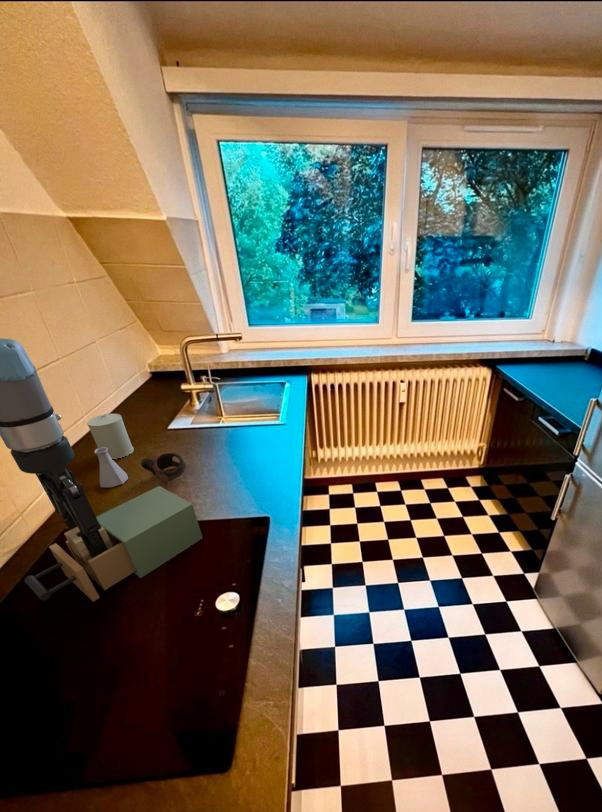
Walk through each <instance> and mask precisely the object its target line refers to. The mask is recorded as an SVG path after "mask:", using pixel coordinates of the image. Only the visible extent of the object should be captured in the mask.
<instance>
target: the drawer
mask: <svg viewBox="0 0 602 812" xmlns="http://www.w3.org/2000/svg"><path fill="white" fill-rule="evenodd" d="M105 531H106V530H105ZM106 533H107V535H108V537H109V539H110V541H111V543H112V545H113V547H112V548H110V549H108V550H107V551H105V552H103V553H101V554H99V555H98V556H96V557H94V558H92V559H90V560H89V561H88V562H89V563H86V562H84V561H83V560H82V559H81V558H80V557H79V556H78V555H77V554H75V552H74V551H73V549H72V547H71V545H70V543H69V542H68V540H67V539H66V540H65V544H66V545H67V547H68V549H69V551H70V553H71V554H72V556H73V557H71V555H70V554H69V553H67V552H66V551H65V550H64V549H63V548H62V547H61V546H60V545H59V544H57V543H56V542H55V543H53V544H51V545H48V548H49V550H50V552H51V553H52V555H53V557H54V558H55V560H56V562H57V563H56V564H54V565H52V566H50V567H48V568H46V569H45V570H42V571H40V572H39V573H37V574H35V575H33V574H32V575H31V574H30V575H28V576H26V577H25V578H24V582H25V584H26V585H27V586H28V587H29V588H30V589H31V591H32V592H33V593H34V594H35V595H36V596H37V597H38V598H39V599H40V600H41V601H47V600H49V599H50V598H51V596H52V594H54V593H56V592H57V591H60V590H61V589H62V588H65V587H66V586H68V585H69V584H71V583H73V584H74V585H75V586H76V587H77V588H78V589H79V590H80V591H81V592H82V593H83V594H84V595H85V596H86V597H87V598H88V599H89V600H91V601H92V602H95V601H97V600H99V599H100V595H99V593H98V591H97V590H96V588H95V587H94V584H93V583H92V581H94V583H96V584H97V585H98V586H99V587H100V588H101V589H103V591H106V590H108V589H109V588H112V587H113V586H114V585H116V584H117V583H119V582H120V581H122V580H124V579H126V578H127V577H128V576H130V575H132V574H134V573H133V572H135V571H136V570H135V568H134V566H133V563H132V561H131V559H130V557H129V555H128V553H127V550H126V548H125V546H124V544H123V543H122V542H120V541H119V540H118V539H116V538H115V537H114V536H112V535H111V534H110V533H108V532H107V531H106ZM59 568H61V570H62V571H63V573H64V576H66V577H67V579H65V580H64V581H62V582H61V583H59V584H57V585H55V586H54V587H52V588H50V589H47V588H46V586H44V585H43V584H42V583H41V581H39V579H40V578H42V577H44V576H46V575H48V574H50V573H51V572H54V571H55V570H57V569H59ZM91 580H92V581H91Z"/></svg>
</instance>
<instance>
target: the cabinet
mask: <svg viewBox="0 0 602 812" xmlns="http://www.w3.org/2000/svg"><path fill="white" fill-rule="evenodd" d="M96 518H97V520H98V522H99V524H100V525H101V526H102V527H103V528H104V529H105V530H106V531H107V532H108V533H110V534H111V535H112V536H114V537H115V538H116V539H118V540H119V541H120V542H122V543H123V544H124V546H125V548H126V550H127V553H128V555H129V557H130V559H131V561H132V563H133V566H134V568H135V570H136V571H135V572H133V573H132V574H135V575H136V577H139V578H140V579H142V578H144V577H145V576H147V575H148V574H150V573H151V572H153V571H154V570H156V569H157V568H159V567H160V566H162V565H164V564H165V563H166V562H168V561H170V560H172V559H173V558H174V557H176V556H178V555H179V554H181V553H183V551H185V550H187V549H189V548H190V547H191V545H192V546H193V545H195V544H196V543H198V542H199V541H201V540H202V539H204V538H203V534H202V532H201V527H200V525H199V521H198V519H197V514H196V511H195V508H194V506H193V503H191V502H189V501H187V500H185V499H184V498H182V497H180V496H178V495H176V493H173V492H172V491H169V490H167V489H166V488H164V487H162V486H160V485H158V486H156V487H154V488H152V489H150V490H147V491H145V492H144V493H142V494H139V495H138V496H136V497H133V498H132V499H130V500H128V501H125V502H124V503H121V504H120V505H117V506H115V507H113V508H111V509H109V510H107V511H105V512H103V513H101V514H98V515H96ZM200 539H201V540H200ZM177 554H178V555H177Z"/></svg>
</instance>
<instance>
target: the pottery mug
mask: <svg viewBox="0 0 602 812" xmlns="http://www.w3.org/2000/svg"><path fill="white" fill-rule="evenodd" d="M173 457H176V458H177V459H178V460H179V461H177V460H174V459H173ZM140 466H141V467H142V468H143V469H145V470H146V471H149V472H150V473H152V475H153V476H156V475H157V476H158V477H160V483H161V484H163V485H168V484H169V482H172V481H174V480H176V479H178V478H179V477H181V476H182V475H183V474H184V472H185V470H186V468H187V467H188V464H187V463H186V462H185V461H184V457H182V456H181V454H179V453H177V452H175V451H164V452H161V453H159V454H157V456H155V458H153V457H145V458H142V459H141V461H140ZM173 467H174V468H175V469H172V470H168V471H167V470H166V469H168V468H173ZM164 470H166V471H165V473H164V472H163V471H164Z"/></svg>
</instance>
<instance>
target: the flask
mask: <svg viewBox="0 0 602 812" xmlns="http://www.w3.org/2000/svg"><path fill="white" fill-rule="evenodd" d="M94 454H95V455H96V456H97V458H98V463H99V486H100V488H114V487H117V486H120V485H123V484H125V482H127V480H129V477H128V474H127V473H126V472H125V471H124V469H123V468H121V467H120V466H119V465H118V464H117V462H115V460H112V458H111V457H110V455H109V453H108V448H107V447H102V448H98V447H97V448H96V449H94Z"/></svg>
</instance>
